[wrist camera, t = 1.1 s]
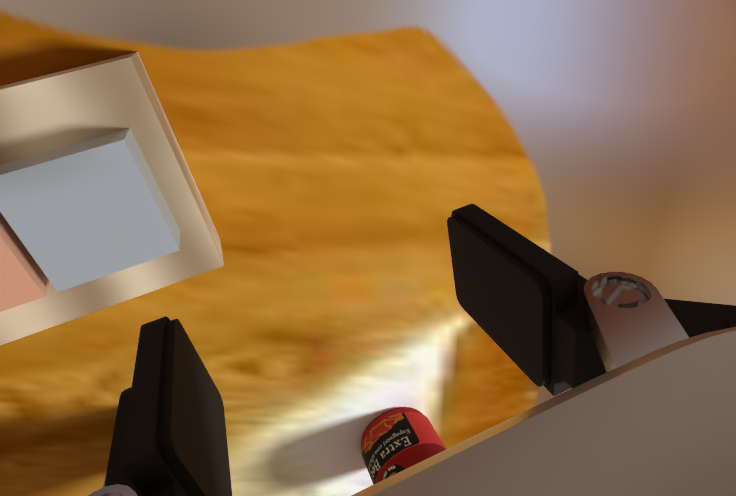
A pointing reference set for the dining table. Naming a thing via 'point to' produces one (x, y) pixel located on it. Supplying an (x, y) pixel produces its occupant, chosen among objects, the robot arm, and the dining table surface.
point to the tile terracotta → (18, 271)
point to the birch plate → (87, 121)
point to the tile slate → (88, 209)
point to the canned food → (398, 442)
